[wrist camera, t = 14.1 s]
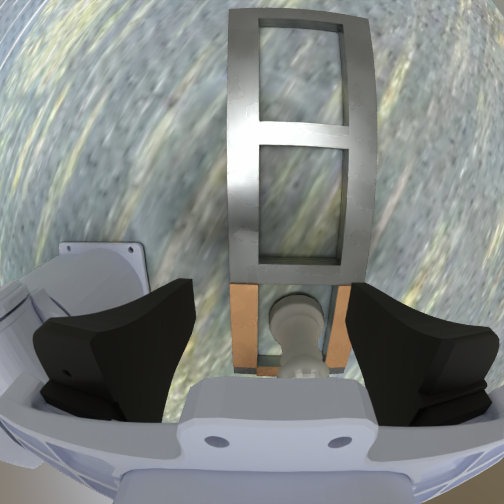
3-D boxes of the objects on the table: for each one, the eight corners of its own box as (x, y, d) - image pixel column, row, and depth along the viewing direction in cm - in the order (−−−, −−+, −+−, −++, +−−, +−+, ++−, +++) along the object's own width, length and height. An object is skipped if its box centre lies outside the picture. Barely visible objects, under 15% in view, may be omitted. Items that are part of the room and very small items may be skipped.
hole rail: (236, 362, 24) (233, 374, 22) (231, 18, 14) (228, 8, 13) (340, 362, 23) (343, 374, 22) (362, 26, 14) (368, 17, 12)
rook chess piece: (306, 281, 21) (322, 348, 13) (331, 321, 22) (352, 390, 14) (257, 308, 22) (251, 380, 14) (286, 344, 23) (289, 417, 15)
